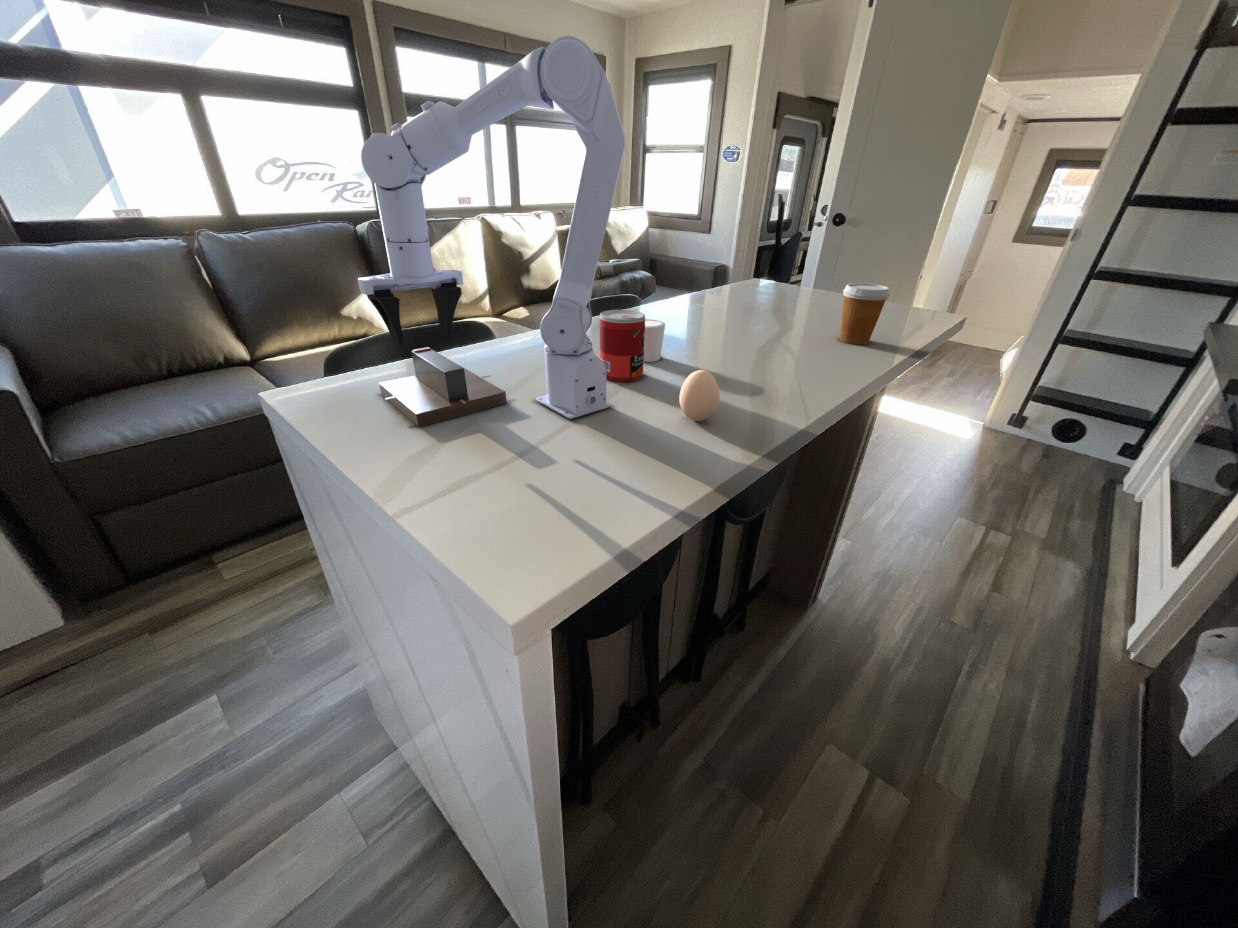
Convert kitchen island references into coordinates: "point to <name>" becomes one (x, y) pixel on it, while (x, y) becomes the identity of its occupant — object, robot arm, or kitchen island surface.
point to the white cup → (653, 340)
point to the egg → (699, 395)
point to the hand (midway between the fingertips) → (423, 338)
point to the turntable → (440, 399)
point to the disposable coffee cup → (861, 311)
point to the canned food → (622, 344)
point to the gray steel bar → (440, 373)
